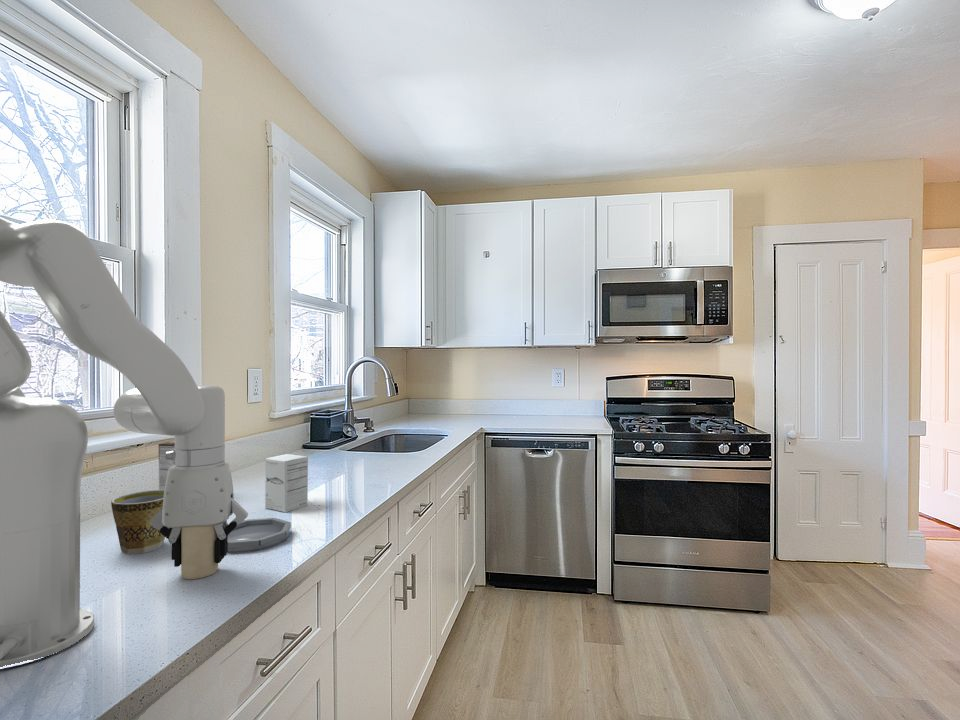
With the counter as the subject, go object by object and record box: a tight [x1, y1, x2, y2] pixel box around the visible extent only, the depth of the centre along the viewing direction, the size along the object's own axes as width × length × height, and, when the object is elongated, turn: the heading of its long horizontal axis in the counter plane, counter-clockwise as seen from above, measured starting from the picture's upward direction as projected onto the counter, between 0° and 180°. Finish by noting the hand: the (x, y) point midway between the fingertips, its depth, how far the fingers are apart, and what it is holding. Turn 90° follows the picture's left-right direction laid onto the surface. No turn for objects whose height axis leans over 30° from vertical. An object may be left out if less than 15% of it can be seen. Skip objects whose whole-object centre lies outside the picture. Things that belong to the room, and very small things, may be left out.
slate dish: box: [227, 517, 292, 554], centre depth 99 cm, size 14×14×2 cm
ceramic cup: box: [110, 489, 166, 555], centre depth 95 cm, size 13×10×10 cm
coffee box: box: [158, 440, 175, 490], centre depth 125 cm, size 9×6×16 cm
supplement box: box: [264, 453, 309, 513], centre depth 121 cm, size 7×7×13 cm
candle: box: [180, 525, 219, 580], centre depth 83 cm, size 6×6×10 cm
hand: (200, 560), depth 83 cm, fingers closed on candle, 5 cm apart
